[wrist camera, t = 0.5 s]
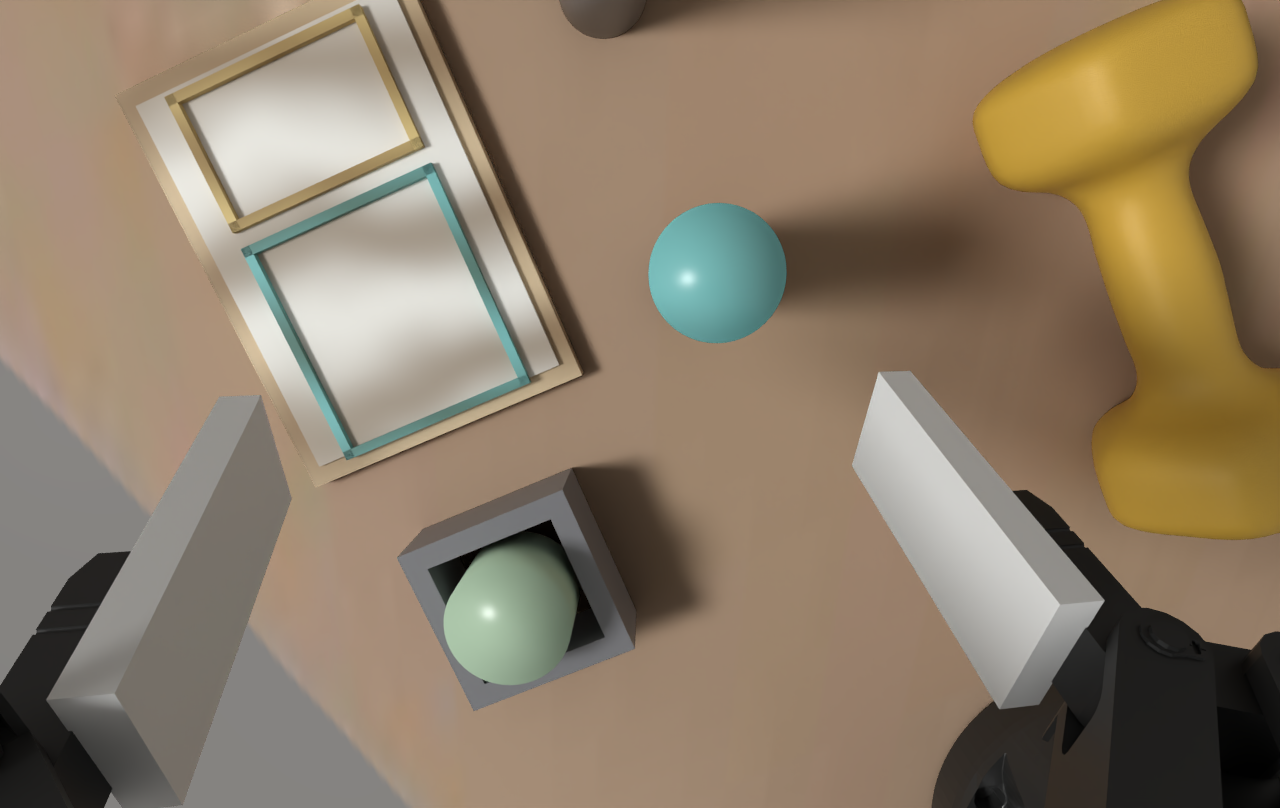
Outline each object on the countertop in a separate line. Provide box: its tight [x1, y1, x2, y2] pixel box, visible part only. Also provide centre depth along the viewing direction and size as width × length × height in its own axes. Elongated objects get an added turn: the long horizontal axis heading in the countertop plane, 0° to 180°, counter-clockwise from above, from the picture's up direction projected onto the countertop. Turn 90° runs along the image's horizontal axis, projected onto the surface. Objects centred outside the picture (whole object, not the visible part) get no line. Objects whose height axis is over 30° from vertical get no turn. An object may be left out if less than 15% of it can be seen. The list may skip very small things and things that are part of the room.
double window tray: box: [114, 0, 584, 487], centre depth 30 cm, size 18×13×1 cm
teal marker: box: [649, 203, 787, 343], centre depth 25 cm, size 4×4×12 cm
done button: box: [444, 531, 581, 685], centre depth 30 cm, size 5×5×4 cm
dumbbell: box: [973, 0, 1280, 540], centre depth 27 cm, size 19×9×8 cm, turn 23°
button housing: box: [397, 468, 636, 711], centre depth 32 cm, size 8×8×4 cm
